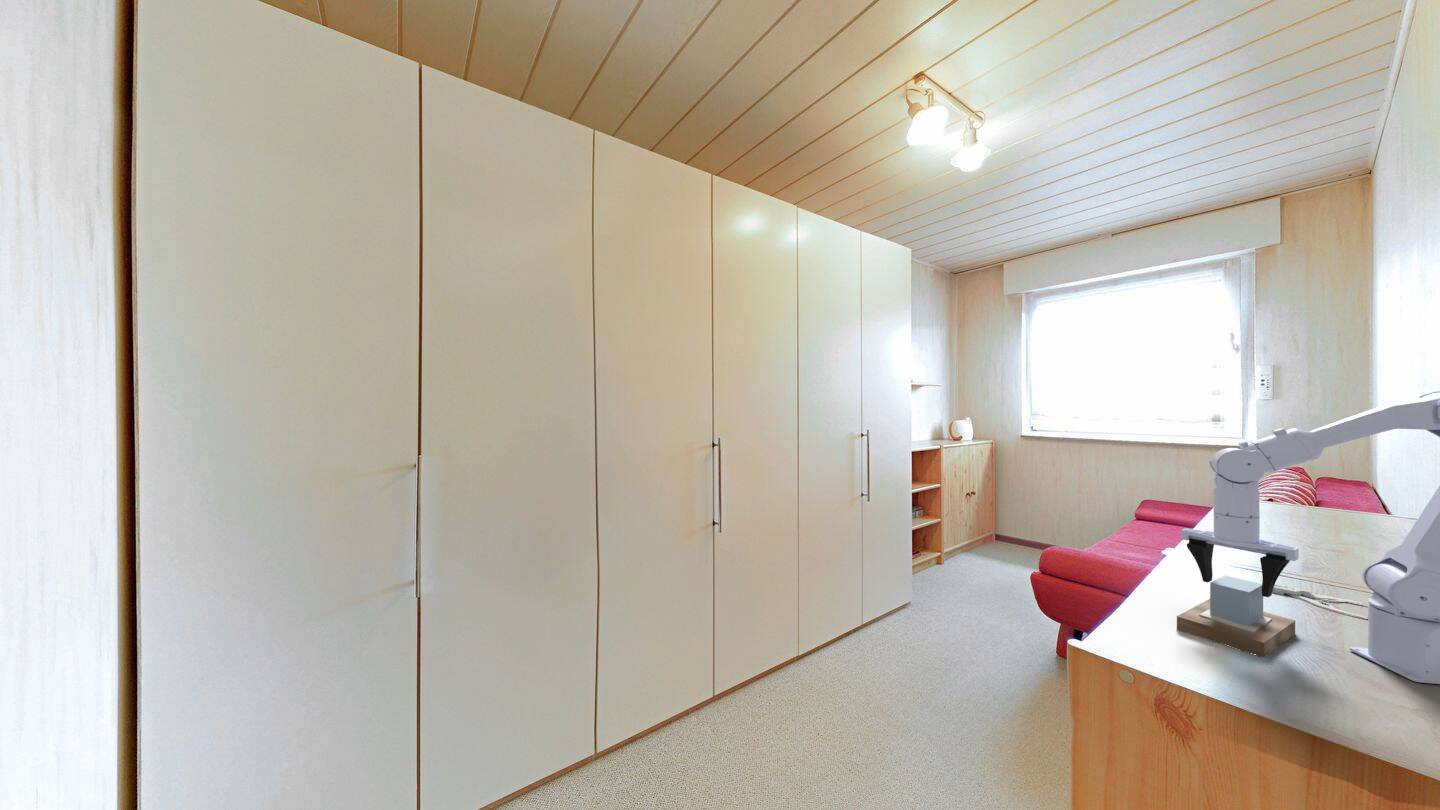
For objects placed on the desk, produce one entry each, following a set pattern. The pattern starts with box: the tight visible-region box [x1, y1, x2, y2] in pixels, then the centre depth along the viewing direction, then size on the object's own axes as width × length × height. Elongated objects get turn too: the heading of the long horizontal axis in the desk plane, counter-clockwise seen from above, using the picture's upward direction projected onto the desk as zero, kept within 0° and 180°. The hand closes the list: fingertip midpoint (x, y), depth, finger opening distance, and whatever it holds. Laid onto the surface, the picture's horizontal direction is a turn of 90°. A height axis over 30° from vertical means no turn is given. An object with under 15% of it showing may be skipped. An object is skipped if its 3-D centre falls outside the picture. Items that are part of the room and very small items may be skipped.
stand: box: [1176, 598, 1296, 658], centre depth 88 cm, size 16×11×3 cm
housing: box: [1209, 574, 1264, 626], centre depth 88 cm, size 8×5×6 cm, turn 118°
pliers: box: [1272, 583, 1368, 618], centre depth 100 cm, size 10×2×15 cm
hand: (1236, 588), depth 87 cm, fingers open, 7 cm apart
